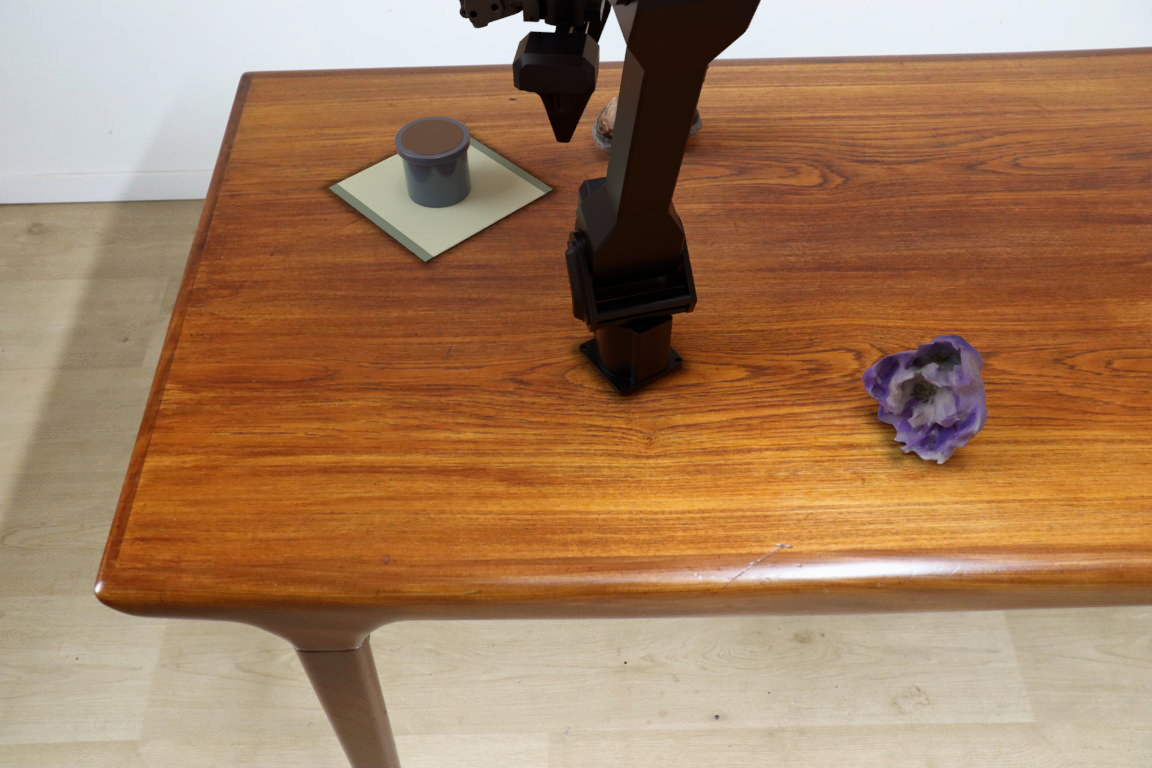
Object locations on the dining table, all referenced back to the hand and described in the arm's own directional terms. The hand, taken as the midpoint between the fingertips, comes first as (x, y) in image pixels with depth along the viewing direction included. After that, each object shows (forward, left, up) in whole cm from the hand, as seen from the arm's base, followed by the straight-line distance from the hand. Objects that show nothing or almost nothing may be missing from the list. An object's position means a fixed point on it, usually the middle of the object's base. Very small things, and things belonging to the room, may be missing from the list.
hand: (570, 111), depth 83 cm
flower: (-36, -9, -12) cm, 39 cm away
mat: (+12, +8, -12) cm, 19 cm away
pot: (+12, +8, -12) cm, 19 cm away
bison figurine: (+7, -14, -12) cm, 20 cm away
